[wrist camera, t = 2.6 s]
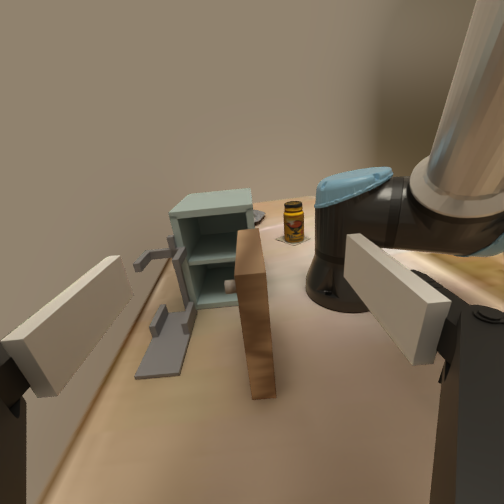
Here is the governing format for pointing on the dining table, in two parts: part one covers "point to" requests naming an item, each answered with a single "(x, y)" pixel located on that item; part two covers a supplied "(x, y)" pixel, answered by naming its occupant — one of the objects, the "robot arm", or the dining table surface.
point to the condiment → (293, 224)
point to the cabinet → (195, 271)
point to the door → (254, 312)
